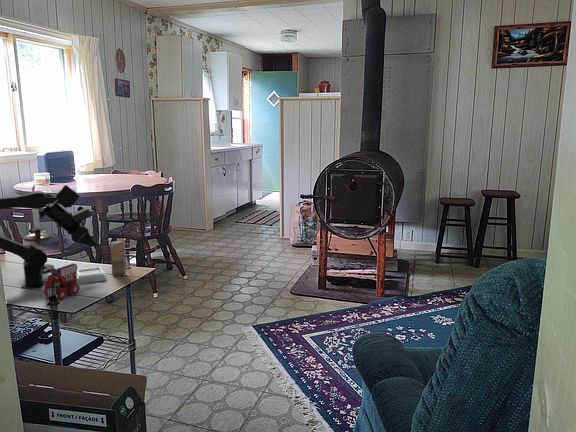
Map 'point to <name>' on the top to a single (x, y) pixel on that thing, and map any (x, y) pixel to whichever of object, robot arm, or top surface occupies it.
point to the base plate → (90, 275)
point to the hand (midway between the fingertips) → (94, 243)
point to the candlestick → (39, 236)
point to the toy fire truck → (63, 281)
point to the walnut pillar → (118, 258)
